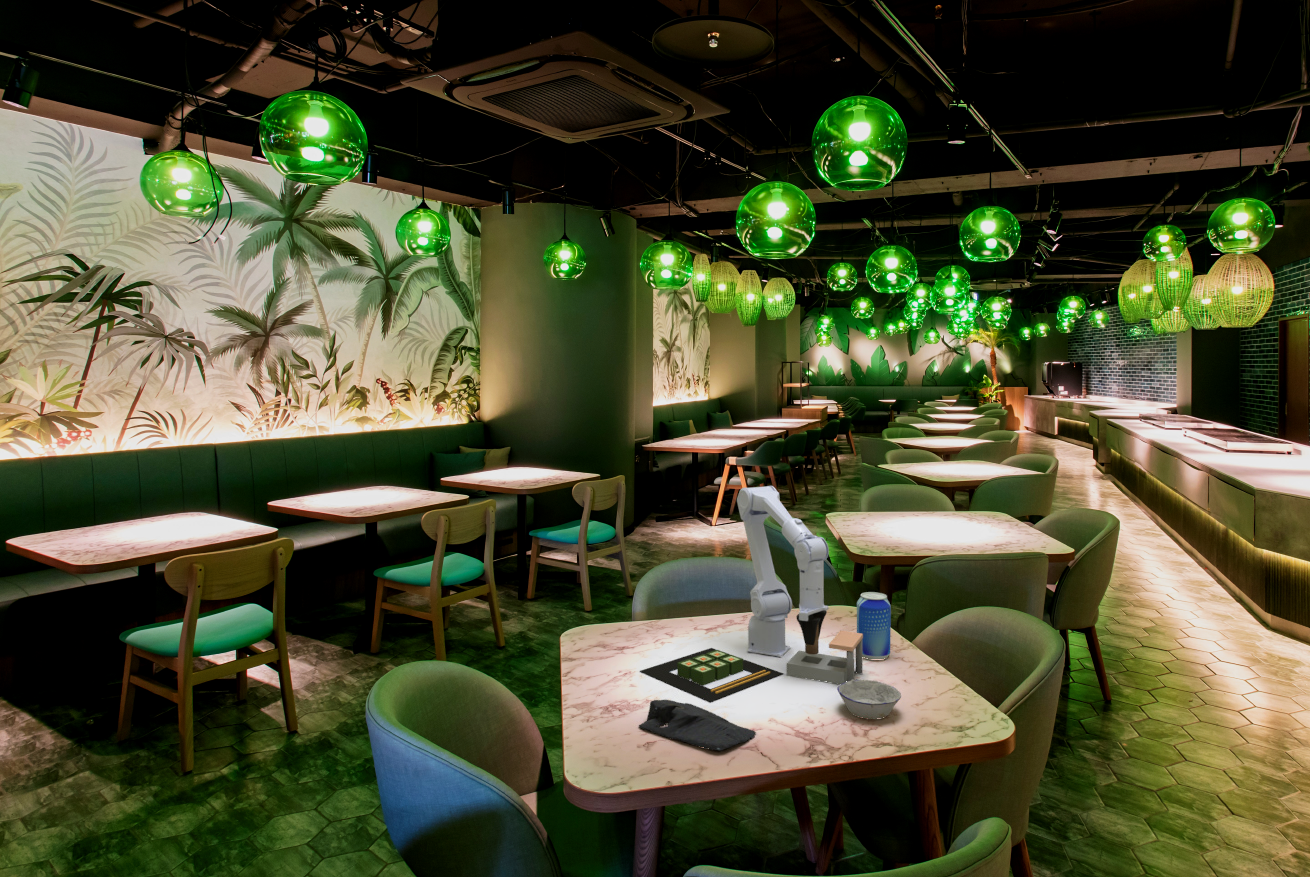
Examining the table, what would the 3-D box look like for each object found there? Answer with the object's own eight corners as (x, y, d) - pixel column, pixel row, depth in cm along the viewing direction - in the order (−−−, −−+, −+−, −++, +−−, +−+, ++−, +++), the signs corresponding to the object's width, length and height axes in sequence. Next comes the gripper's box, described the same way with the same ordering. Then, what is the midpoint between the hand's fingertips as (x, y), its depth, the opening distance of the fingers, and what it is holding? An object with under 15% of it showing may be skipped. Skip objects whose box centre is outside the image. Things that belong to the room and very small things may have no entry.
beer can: (886, 650, 193) (886, 591, 192) (893, 661, 185) (894, 599, 184) (854, 650, 194) (854, 590, 193) (860, 661, 185) (860, 599, 185)
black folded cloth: (714, 764, 135) (714, 739, 135) (632, 728, 150) (632, 705, 150) (763, 736, 146) (763, 713, 146) (682, 705, 161) (682, 684, 161)
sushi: (710, 705, 161) (710, 689, 161) (639, 674, 180) (639, 659, 180) (783, 676, 177) (783, 661, 177) (711, 650, 196) (711, 637, 196)
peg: (803, 653, 178) (803, 624, 177) (806, 649, 181) (806, 621, 180) (816, 654, 176) (816, 626, 176) (819, 650, 179) (819, 622, 179)
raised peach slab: (828, 683, 171) (828, 643, 171) (840, 668, 181) (840, 630, 180) (852, 687, 169) (852, 647, 168) (863, 671, 178) (863, 633, 178)
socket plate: (786, 675, 177) (786, 663, 177) (798, 661, 185) (798, 650, 185) (844, 685, 170) (844, 672, 170) (854, 670, 179) (854, 658, 179)
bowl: (824, 709, 157) (824, 687, 157) (863, 695, 165) (863, 674, 164) (873, 730, 147) (873, 707, 146) (912, 714, 154) (913, 692, 154)
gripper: (819, 596, 169) (819, 653, 170) (835, 582, 182) (835, 635, 183) (790, 592, 173) (790, 648, 173) (807, 579, 186) (808, 631, 186)
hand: (811, 641), depth 178 cm, fingers closed on peg, 3 cm apart
